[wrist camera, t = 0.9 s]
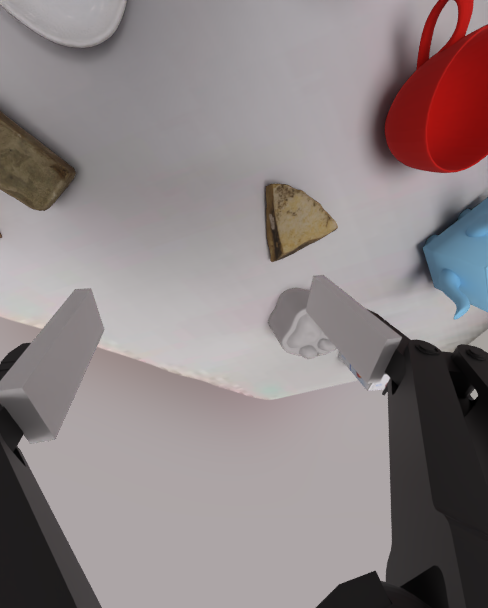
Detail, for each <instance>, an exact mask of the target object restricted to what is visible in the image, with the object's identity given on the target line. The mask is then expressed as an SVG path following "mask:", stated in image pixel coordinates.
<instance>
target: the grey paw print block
mask: <svg viewBox="0 0 488 608" xmlns="http://www.w3.org/2000/svg"><path fill="white" fill-rule="evenodd" d="M309 293H310V291H309V290H305V289H300V288H291V289H288V290H286V291H284V292H283V293H282V294H281V295H280V297H279V299H278V302H277V305H276V307H275V309H274V310H273V312H272V313H271V315H270V317H269V319H268V323H269V326H270V327H271V329H272V331H273V333H274V334H275V336H276V338H277V339H278V341H279V343H280V345H281V346H282V348H283V349H284V350H285V351H286V352H288V353H290V354H294V355H298V356H302V357H304V358H307V359H312V358H314V357H316V356H320V355H324V354H327V353H330V352H332V351H333V350H335V349H337V348H336V347H335V345H334V344H333V343H332V342H331V341H330V339H329V338H328V337H327V336H326V335H325V333H324V332H323V331H322V330H321V329H320V327H319V326H318V325H317V324H316V323H315V322H314V320H313V319H312V318H311V317H310V316H309V314H308V313H307V312H306V307H307V303H308V298H309Z"/></svg>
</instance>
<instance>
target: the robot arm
mask: <svg viewBox="0 0 488 608" xmlns="http://www.w3.org/2000/svg"><path fill="white" fill-rule="evenodd" d="M306 312H307V313H308V314H309V316H310V317H311V318H312V319H313V320H314V322H315V323H316V324H317V325H318V326H319V327H320V329H321V330H322V331H323V332H324V333H325V335H326V336H327V337H328V338H329V339H330V341H331V342H332V343H333V344H334V345H335V347H336V348H337V349H338V350H339V351H340V352H341V354H342V355H343V356H344V357H345V358H346V360H347V361H348V362H349V363H350V364H351V366H352V367H353V368H354V369H355V370H356V372H357V373H358V374H359V375H360V376H361V377H362V379H363V380H364V381H365V382H366V383H367V384H370V383H375V382H380V381H381V379H382V377H383V375H384V373H386V374H387V375H388V376H389V377H390V379H389V381H388V383H387V385H386V387H385V389H384V391H383V393H382V394H383V395H385V394H386V392H388V414H389V449H390V450H389V451H390V484H391V485H390V486H391V522H392V547H391V552H390V555H389V559H388V562H387V569H386V582H383V581H380V579H379V577H378V575H377V573H376V571H373V572H371V573H368V574H365V575H363V576H360V577H357V578H355V579H352V580H350V581H347V582H345V583H342V584H339V585H338V586H337V587H336V588H335V589H334V590H333V591H332V592H331V593H330V594H329V595H328V596H327V597H326V598H325V599H324V600H323V601H322V602H321V603H320V604H319V605H318V606H317V607H316V608H488V353H487V352H485V351H483V350H482V349H480V348H477V347H475V346H470V345H463V344H461V345H458V346H457V348H456V349H455V351H454V352H453V353H451V352H442V351H441V350H439V349H438V348H437V347H436V346H434V345H432V344H430V343H428V342H425V341H421V340H410V339H409V338H408V337H406V336H405V335H404V334H402V333H401V332H400V331H399V330H397V329H396V328H395V327H393V326H392V325H390V324H389V323H388V322H387V321H386V320H385V321H384V319H383V318H382V317H380V316H379V315H378V314H376V313H374V312H372V311H370V310H368V309H366V308H364V307H363V306H362V305H361V304H359V303H358V302H357V301H356V300H354V299H353V298H352V297H351V296H349V295H348V294H347V293H346V292H344V291H343V290H342V289H340V288H339V287H338V286H337V285H335V284H334V283H333V282H332V281H330V280H329V279H328V278H327V277H325V276H324V275H318V276H313V279H312V284H311V289H310V293H309V298H308V303H307V307H306ZM103 332H104V327H103V324H102V321H101V318H100V314H99V311H98V308H97V305H96V302H95V299H94V296H93V293H92V290H91V289H75V290H74V291H73V293H72V294H71V295H70V296H69V297H68V299H67V300H66V301H65V302H64V304H63V305H62V306H61V307H60V308H59V310H58V311H57V312H56V313H55V315H54V316H53V317H52V318H51V319H50V321H49V322H48V323H47V324H46V326H45V327H44V328H43V329H42V330H41V332H40V333H39V334H38V335H37V337H36V338H35V339H34V341H32V343H24V344H21V345H20V346H18V347H17V348H15V349H14V350H12V351H11V352H10V353H9V354H8V355H7V356H6V357H5V358H4V359H3V360H2V361H1V364H0V608H102V607H101V605H100V603H99V601H98V599H97V597H96V595H95V594H94V592H93V590H92V588H91V586H90V584H89V582H88V580H87V578H86V576H85V574H84V572H83V570H82V568H81V566H80V565H79V563H78V561H77V559H76V557H75V555H74V553H73V551H72V549H71V547H70V545H69V543H68V541H67V540H66V537H65V536H64V534H63V532H62V530H61V528H60V526H59V524H58V522H57V520H56V518H55V516H54V514H53V513H52V510H51V509H50V506H49V505H48V503H47V501H46V499H45V497H44V495H43V493H42V491H41V489H40V487H39V485H38V483H37V481H36V479H35V477H34V475H33V474H32V472H31V470H30V468H29V466H28V464H27V462H26V460H25V458H24V456H23V454H22V452H21V450H20V449H19V448H18V447H17V445H18V443H19V441H20V439H21V438H22V436H23V434H24V436H25V437H26V438H27V440H28V441H29V442H30V443H31V444H32V443H38V442H44V441H49V440H55V439H56V437H57V435H58V432H59V430H60V428H61V426H62V423H63V421H64V419H65V417H66V414H67V412H68V410H69V408H70V406H71V403H72V401H73V399H74V397H75V394H76V392H77V390H78V388H79V385H80V383H81V381H82V379H83V376H84V374H85V372H86V370H87V367H88V365H89V363H90V361H91V358H92V356H93V354H94V352H95V350H96V347H97V345H98V343H99V341H100V338H101V336H102V334H103ZM474 389H476V391H477V393H478V397H477V398H476V399H475V400H474V399H473V398H472V397H471V396H470V394H471V393H472V391H473V390H474Z"/></svg>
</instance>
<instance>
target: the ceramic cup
mask: <svg viewBox="0 0 488 608" xmlns="http://www.w3.org/2000/svg"><path fill="white" fill-rule="evenodd" d="M448 1H449V0H439V1H438V2H437V3H436V5H435V6H434V7H433V9H432V11H431V12H430V14H429V16H428V18H427V21H426V23H425V26H424V29H423V32H422V36H421V41H420V46H419V52H418V60H417V70H416V71H415V72H414V73H413V74H412V75H411V77H410V78H409V79H408V80H407V81H406V82H405V83H404V85H403V86H402V88H401V89H400V91H399V92H398V94H397V95H396V97H395V99H394V101H393V103H392V105H391V107H390V110H389V112H388V115H387V118H386V122H385V137H386V141H387V145H388V147H389V149H390V151H391V153H392V154H393V155H394V156H395V158H396V159H397V160H398V161H400V162H402V163H403V164H405V165H407V166H409V167H411V168H415V169H419V170H424V171H430V172H439V173H450V172H458V171H461V170H465V169H467V168H469V167H471V166H473V165H475V164H476V163H478V162H479V161H480V160H482V159H483V158H484V157H486V156H487V155H488V24H487V25H485V26H483V27H481V28H480V29H478V30H476V31H474V32H472V33H470V34H468V35H467V36H465V34H466V31H467V28H468V25H469V22H470V19H471V15H472V11H473V0H454V1H456V3H457V6H458V22H457V26H456V29H455V31H454V33H453V35H452V37H451V38H450V40H449V41H448V42H447V44H446V45H445V46H444V47H443V48H442V49H441V50H440V51H439V52H438V53H436V54H435V55H434V56H432V57H431V58H430V59H429V52H430V45H431V40H432V35H433V31H434V27H435V24H436V21H437V19H438V17H439V14H440V13H441V11H442V9H443V7H444V6H445V4H446V3H447V2H448Z"/></svg>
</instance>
